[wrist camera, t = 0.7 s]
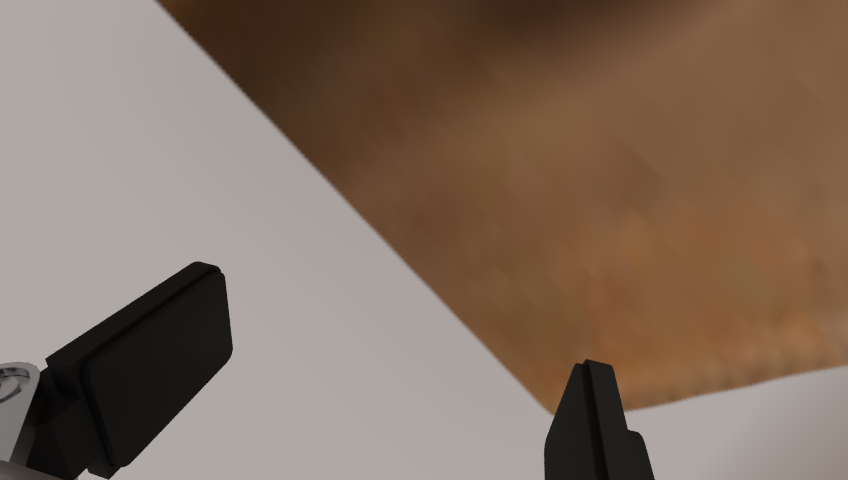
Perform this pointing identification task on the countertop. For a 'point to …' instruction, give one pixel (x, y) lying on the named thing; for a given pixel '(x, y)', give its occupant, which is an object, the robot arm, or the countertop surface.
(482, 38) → the countertop surface
